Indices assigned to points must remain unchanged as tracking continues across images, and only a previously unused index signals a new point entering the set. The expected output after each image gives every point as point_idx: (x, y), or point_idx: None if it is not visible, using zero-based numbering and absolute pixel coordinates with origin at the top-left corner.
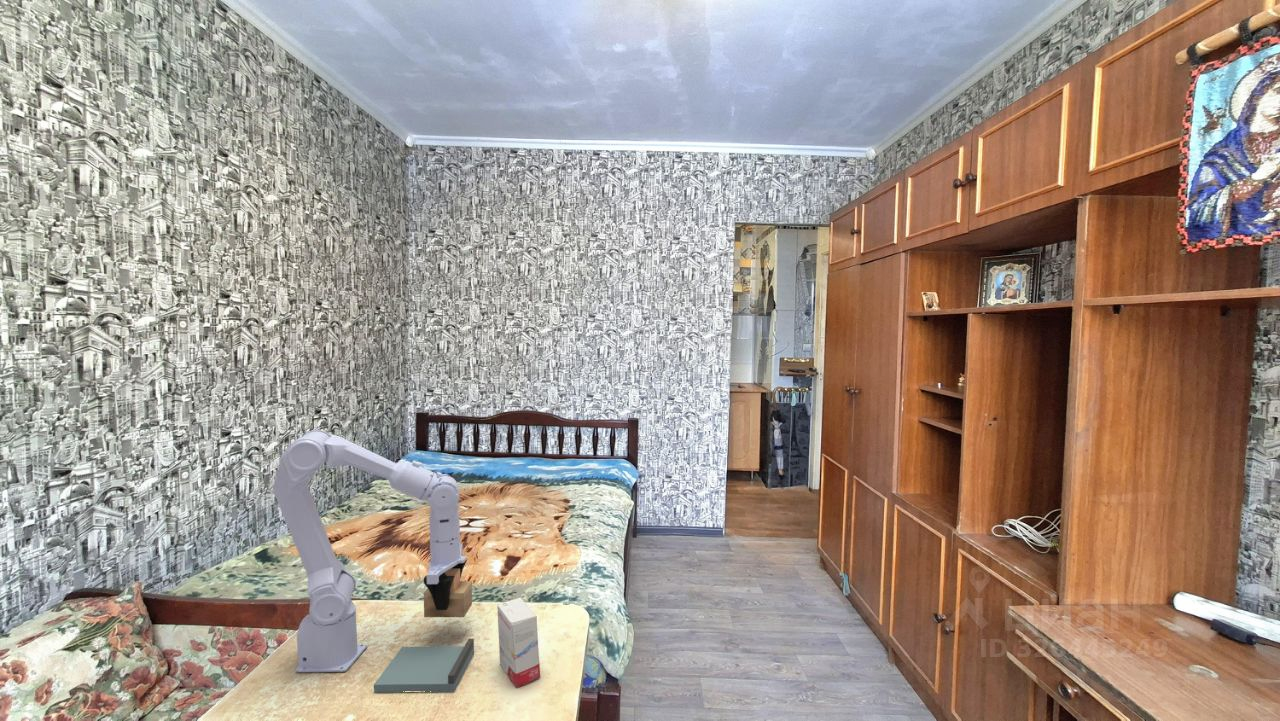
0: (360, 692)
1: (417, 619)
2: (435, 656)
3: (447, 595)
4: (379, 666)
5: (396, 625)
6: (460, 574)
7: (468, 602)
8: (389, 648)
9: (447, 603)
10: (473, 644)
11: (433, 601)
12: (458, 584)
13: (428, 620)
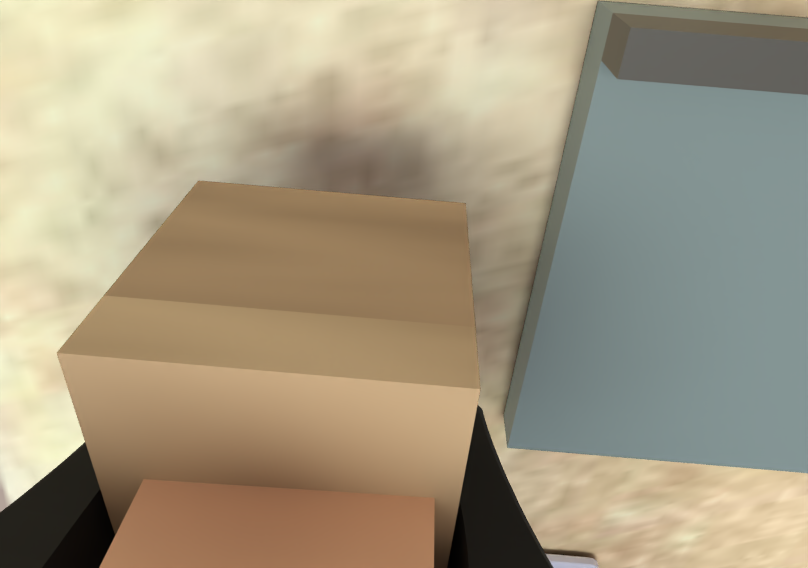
0: (769, 482)
1: None
2: (670, 267)
3: (541, 548)
4: (585, 470)
5: None
6: (14, 564)
7: (301, 231)
8: None
9: (494, 451)
10: (625, 18)
11: None
12: (224, 495)
13: None
